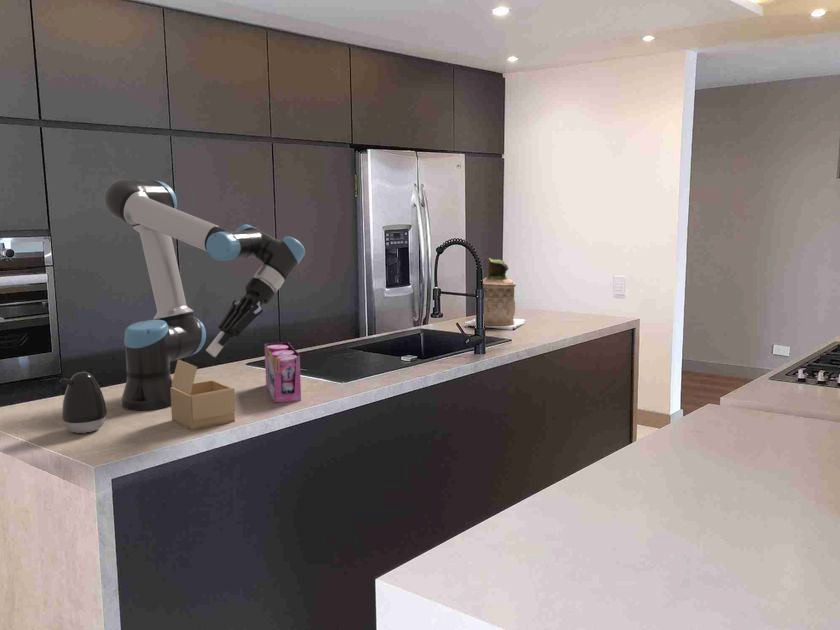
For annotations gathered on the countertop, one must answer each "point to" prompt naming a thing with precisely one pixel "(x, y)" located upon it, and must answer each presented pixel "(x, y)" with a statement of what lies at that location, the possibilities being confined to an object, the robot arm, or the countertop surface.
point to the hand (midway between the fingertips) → (210, 353)
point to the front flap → (184, 376)
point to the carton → (203, 405)
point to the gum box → (282, 372)
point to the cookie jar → (498, 298)
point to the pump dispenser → (83, 404)
